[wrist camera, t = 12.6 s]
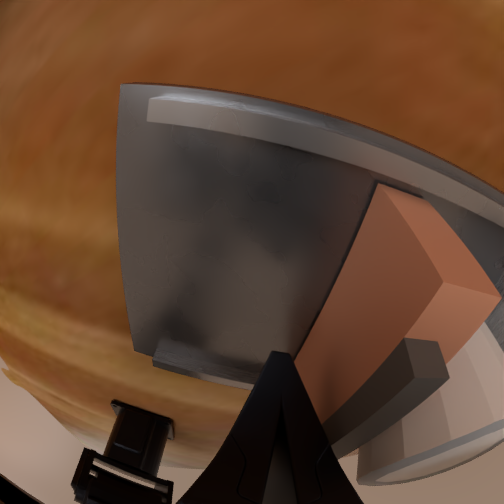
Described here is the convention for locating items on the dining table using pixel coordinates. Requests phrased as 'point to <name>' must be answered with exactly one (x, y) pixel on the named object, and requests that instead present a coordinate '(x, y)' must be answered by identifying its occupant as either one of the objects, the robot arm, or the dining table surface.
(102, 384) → the dining table surface
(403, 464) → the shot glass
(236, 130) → the vise base
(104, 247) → the dining table surface
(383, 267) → the sliding jaw
